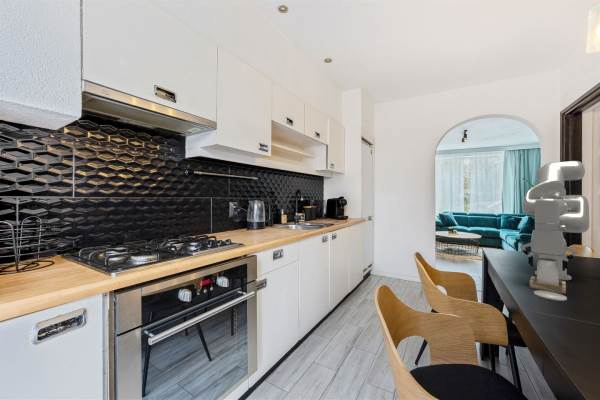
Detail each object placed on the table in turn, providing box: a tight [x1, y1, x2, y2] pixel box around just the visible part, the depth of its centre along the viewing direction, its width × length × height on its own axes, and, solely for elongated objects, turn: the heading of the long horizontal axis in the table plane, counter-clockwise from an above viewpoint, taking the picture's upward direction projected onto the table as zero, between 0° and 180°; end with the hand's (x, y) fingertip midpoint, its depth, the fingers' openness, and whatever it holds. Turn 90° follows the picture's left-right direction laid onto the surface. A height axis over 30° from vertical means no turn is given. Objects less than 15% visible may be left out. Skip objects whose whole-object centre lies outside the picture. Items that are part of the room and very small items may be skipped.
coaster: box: [533, 289, 568, 302], centre depth 96 cm, size 9×9×1 cm
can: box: [536, 257, 559, 286], centre depth 106 cm, size 6×6×12 cm
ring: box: [529, 275, 567, 295], centre depth 106 cm, size 11×11×2 cm
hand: (547, 268), depth 105 cm, fingers open, 9 cm apart
